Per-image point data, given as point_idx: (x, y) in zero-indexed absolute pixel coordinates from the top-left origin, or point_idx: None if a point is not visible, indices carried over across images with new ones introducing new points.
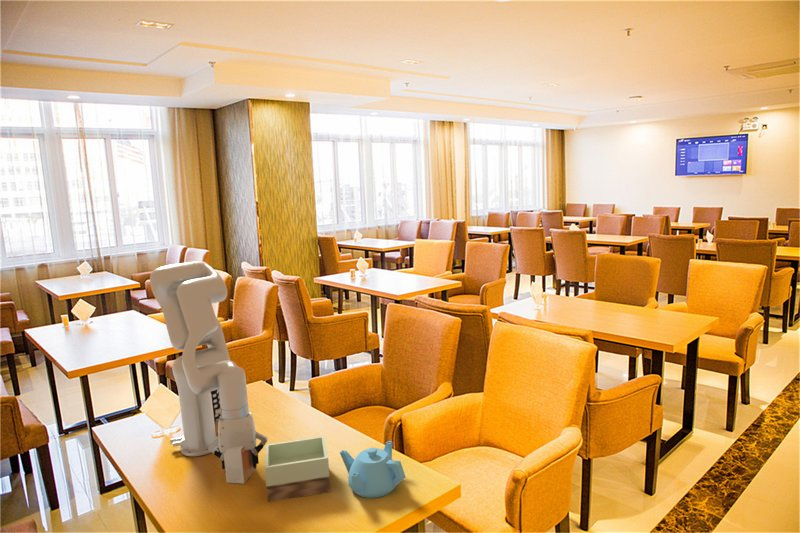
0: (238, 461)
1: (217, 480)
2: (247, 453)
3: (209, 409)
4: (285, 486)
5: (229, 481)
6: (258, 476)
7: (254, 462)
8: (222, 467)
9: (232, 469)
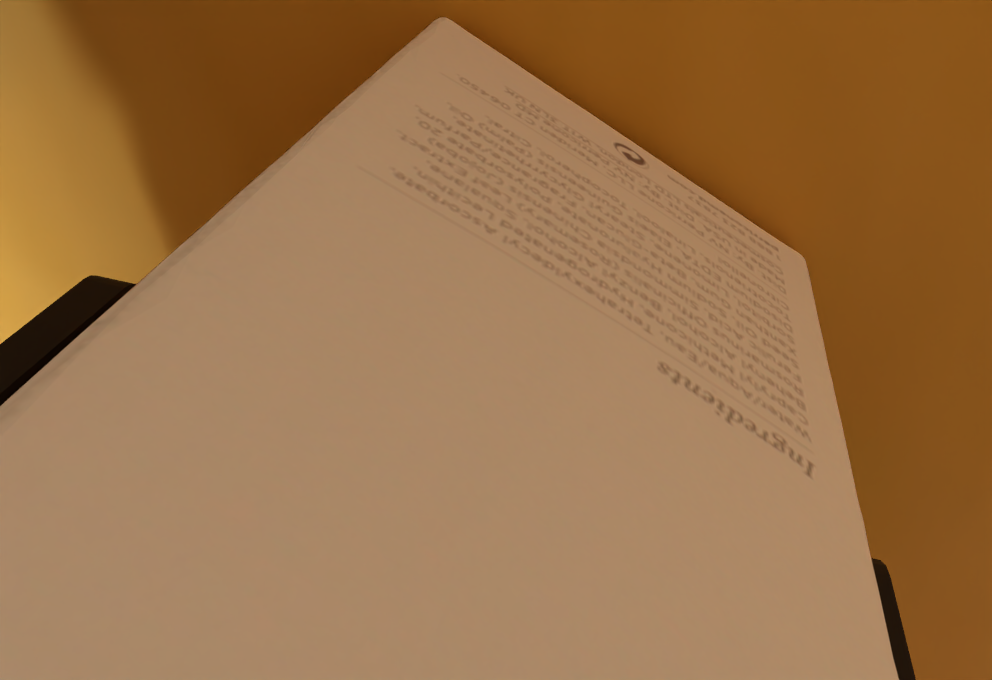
0: (327, 345)
1: (953, 436)
2: None
3: None
4: None
5: (749, 226)
6: (167, 183)
7: (14, 356)
8: (884, 589)
9: (643, 314)
